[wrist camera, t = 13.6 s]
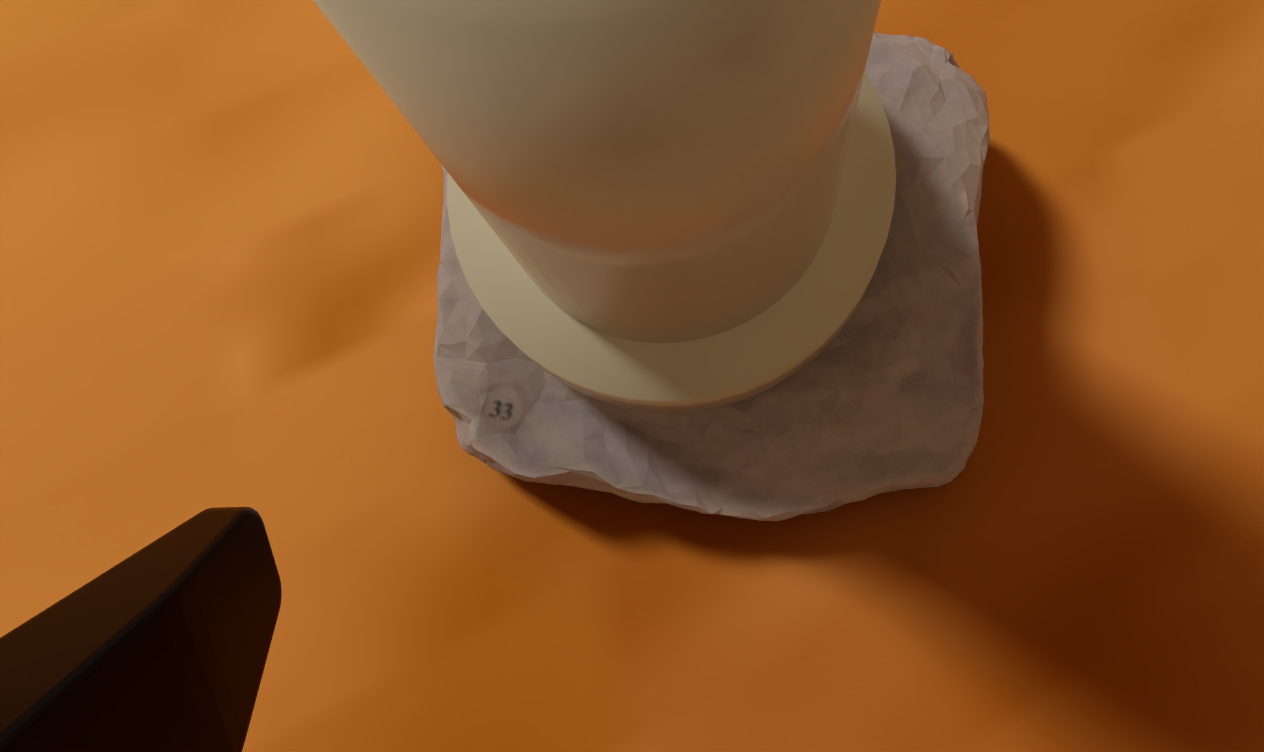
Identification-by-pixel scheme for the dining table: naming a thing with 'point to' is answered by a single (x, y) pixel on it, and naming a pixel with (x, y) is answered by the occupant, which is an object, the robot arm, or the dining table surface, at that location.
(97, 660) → the robot arm
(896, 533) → the dining table surface
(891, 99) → the stone block
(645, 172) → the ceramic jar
